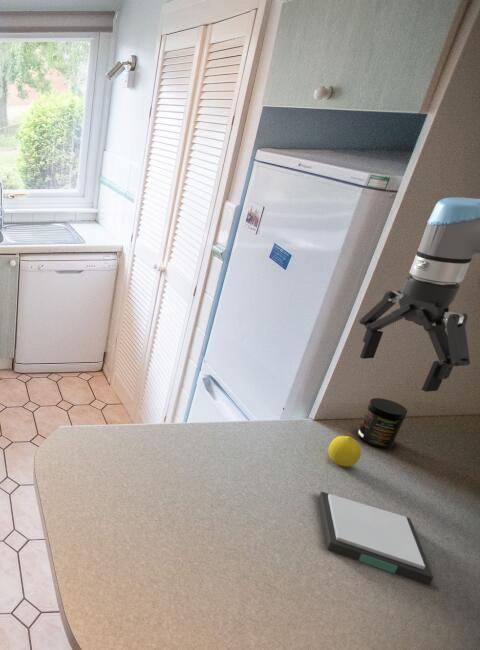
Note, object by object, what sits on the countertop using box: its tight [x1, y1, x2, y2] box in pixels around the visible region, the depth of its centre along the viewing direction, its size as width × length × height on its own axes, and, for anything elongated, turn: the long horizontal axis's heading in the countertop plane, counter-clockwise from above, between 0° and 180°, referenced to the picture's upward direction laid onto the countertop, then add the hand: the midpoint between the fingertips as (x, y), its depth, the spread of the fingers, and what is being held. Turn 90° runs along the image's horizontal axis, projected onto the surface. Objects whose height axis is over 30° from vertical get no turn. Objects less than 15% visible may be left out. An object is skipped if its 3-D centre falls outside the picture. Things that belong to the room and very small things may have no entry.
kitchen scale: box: [317, 491, 434, 586], centre depth 85 cm, size 14×14×3 cm
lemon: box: [327, 435, 362, 467], centre depth 102 cm, size 6×6×8 cm
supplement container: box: [357, 397, 408, 450], centre depth 109 cm, size 7×7×10 cm
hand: (395, 373), depth 97 cm, fingers open, 13 cm apart
